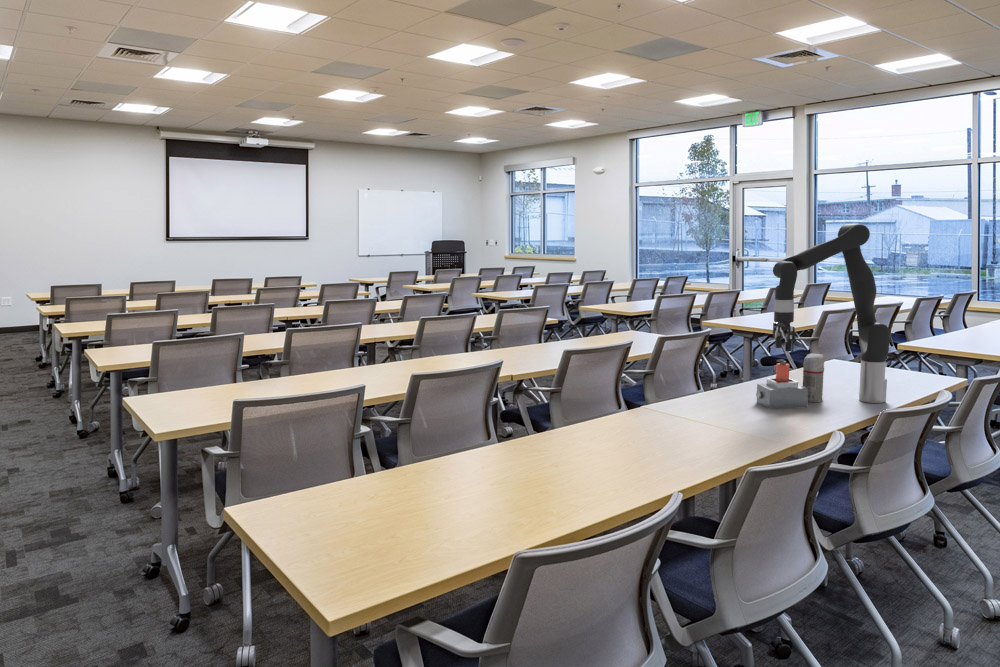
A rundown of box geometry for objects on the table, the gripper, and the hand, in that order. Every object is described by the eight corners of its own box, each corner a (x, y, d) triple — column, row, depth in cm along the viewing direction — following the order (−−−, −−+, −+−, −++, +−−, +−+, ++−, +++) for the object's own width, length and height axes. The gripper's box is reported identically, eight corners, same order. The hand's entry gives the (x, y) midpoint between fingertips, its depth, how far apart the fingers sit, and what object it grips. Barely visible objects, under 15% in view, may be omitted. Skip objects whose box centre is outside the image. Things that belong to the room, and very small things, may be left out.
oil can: (785, 384, 298) (786, 358, 296) (790, 386, 293) (791, 360, 291) (773, 384, 297) (774, 358, 296) (778, 387, 292) (779, 360, 291)
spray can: (826, 402, 298) (828, 355, 295) (806, 403, 298) (808, 356, 296) (817, 397, 307) (819, 352, 304) (798, 398, 307) (800, 352, 304)
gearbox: (793, 400, 303) (793, 376, 301) (807, 407, 291) (808, 382, 290) (753, 402, 302) (754, 378, 300) (766, 409, 290) (767, 384, 288)
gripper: (801, 312, 284) (800, 352, 286) (784, 308, 298) (783, 346, 300) (783, 312, 283) (782, 352, 286) (767, 309, 297) (766, 347, 300)
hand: (783, 349), depth 293 cm, fingers open, 8 cm apart
